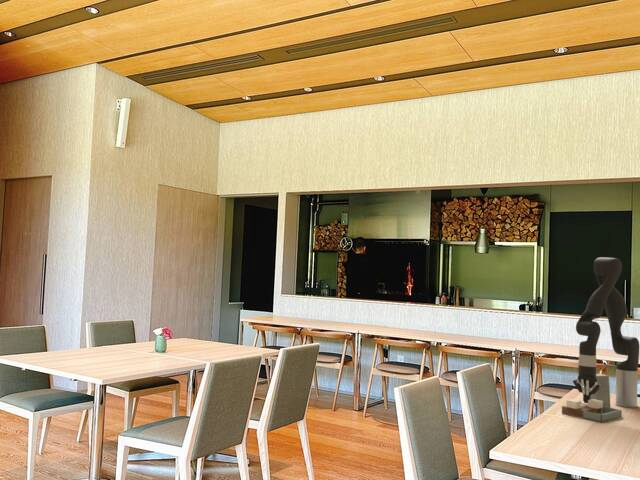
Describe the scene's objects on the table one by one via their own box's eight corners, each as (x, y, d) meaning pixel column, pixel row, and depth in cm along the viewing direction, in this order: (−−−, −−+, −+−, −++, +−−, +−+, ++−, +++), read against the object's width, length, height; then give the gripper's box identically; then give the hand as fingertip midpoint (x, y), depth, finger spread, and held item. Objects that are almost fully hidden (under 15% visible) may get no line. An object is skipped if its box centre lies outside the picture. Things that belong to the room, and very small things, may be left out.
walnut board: (580, 409, 277) (580, 402, 277) (601, 413, 270) (601, 406, 270) (561, 413, 267) (561, 406, 268) (583, 417, 260) (583, 410, 260)
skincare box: (610, 410, 276) (611, 376, 277) (595, 410, 276) (595, 375, 277) (602, 406, 285) (603, 373, 285) (587, 406, 285) (588, 372, 286)
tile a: (593, 405, 272) (593, 398, 272) (602, 407, 268) (602, 400, 268) (587, 406, 269) (587, 399, 269) (597, 408, 265) (597, 401, 265)
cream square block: (571, 405, 269) (571, 399, 270) (581, 407, 266) (581, 401, 266) (566, 406, 267) (566, 400, 267) (576, 409, 263) (576, 402, 263)
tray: (603, 413, 270) (603, 406, 270) (621, 417, 263) (621, 410, 264) (582, 418, 259) (583, 410, 259) (601, 422, 252) (601, 414, 252)
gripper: (605, 366, 270) (605, 405, 269) (577, 362, 280) (577, 399, 279) (597, 367, 265) (596, 406, 264) (569, 363, 276) (568, 401, 275)
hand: (586, 402), depth 272 cm, fingers closed
